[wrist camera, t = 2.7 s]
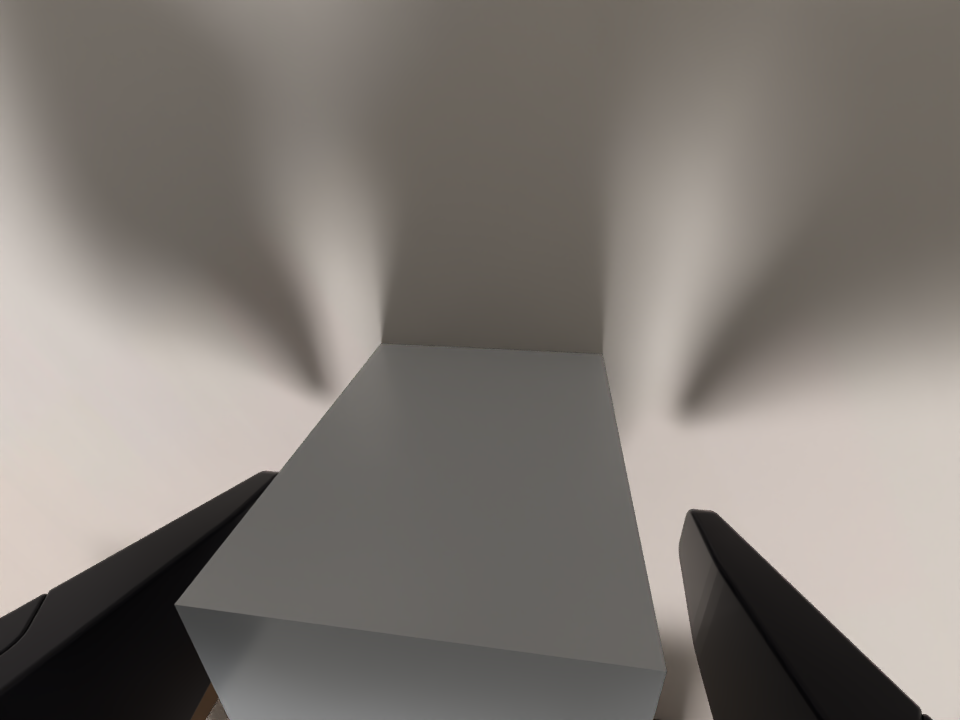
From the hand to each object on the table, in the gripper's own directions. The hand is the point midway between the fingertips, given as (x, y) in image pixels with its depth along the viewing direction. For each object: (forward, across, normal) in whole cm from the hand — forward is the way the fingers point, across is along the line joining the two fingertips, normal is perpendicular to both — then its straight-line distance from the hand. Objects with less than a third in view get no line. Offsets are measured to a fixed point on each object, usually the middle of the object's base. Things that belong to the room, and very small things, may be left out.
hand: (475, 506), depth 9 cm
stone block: (+2, 0, 0) cm, 2 cm away
